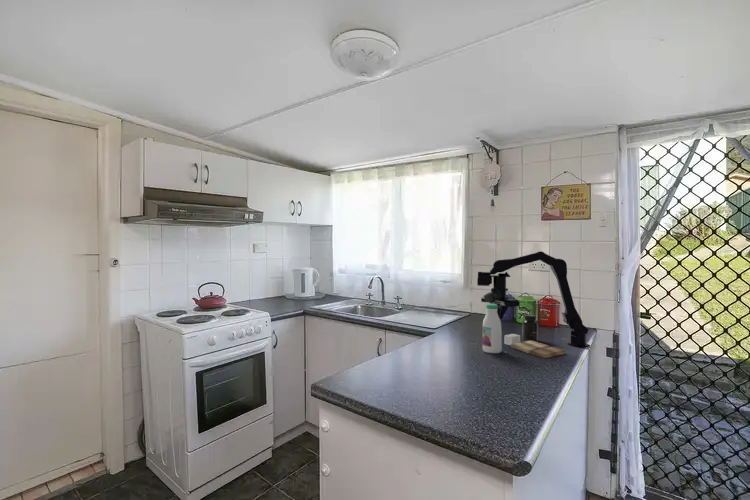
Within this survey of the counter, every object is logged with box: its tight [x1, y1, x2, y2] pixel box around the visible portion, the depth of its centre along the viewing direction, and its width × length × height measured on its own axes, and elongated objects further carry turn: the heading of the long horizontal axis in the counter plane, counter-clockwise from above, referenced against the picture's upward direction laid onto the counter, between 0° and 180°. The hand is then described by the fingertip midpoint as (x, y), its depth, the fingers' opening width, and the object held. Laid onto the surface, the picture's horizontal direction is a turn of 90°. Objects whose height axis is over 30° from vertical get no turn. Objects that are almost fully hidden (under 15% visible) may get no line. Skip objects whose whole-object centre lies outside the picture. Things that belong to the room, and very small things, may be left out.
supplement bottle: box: [521, 314, 539, 342], centre depth 167 cm, size 7×7×12 cm
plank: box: [510, 340, 550, 354], centre depth 154 cm, size 13×9×2 cm
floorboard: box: [529, 346, 566, 359], centre depth 146 cm, size 13×7×2 cm, turn 118°
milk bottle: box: [482, 303, 503, 354], centre depth 150 cm, size 8×8×20 cm
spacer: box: [503, 333, 521, 347], centre depth 162 cm, size 6×4×4 cm, turn 122°
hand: (499, 318), depth 168 cm, fingers closed
